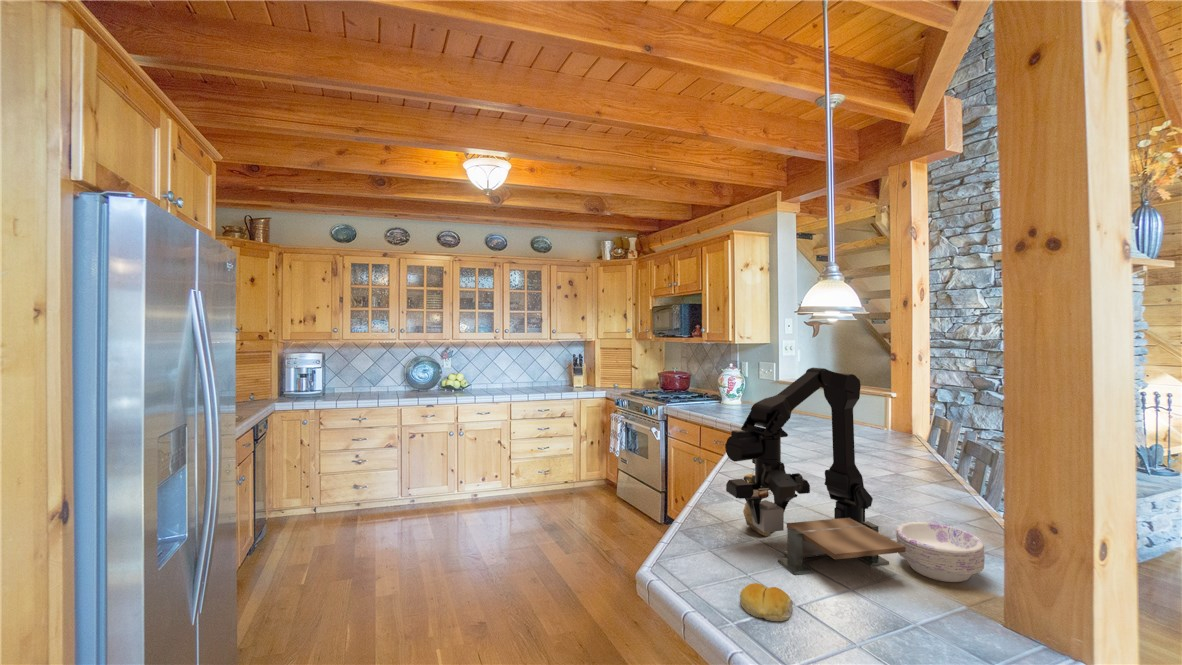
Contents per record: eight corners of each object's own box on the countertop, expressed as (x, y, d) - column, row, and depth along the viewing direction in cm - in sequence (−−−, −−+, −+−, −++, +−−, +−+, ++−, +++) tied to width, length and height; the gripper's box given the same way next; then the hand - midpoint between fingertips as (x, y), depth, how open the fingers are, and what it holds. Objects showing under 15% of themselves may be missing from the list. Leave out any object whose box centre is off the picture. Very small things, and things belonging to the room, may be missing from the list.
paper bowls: (883, 568, 107) (883, 531, 107) (913, 550, 116) (913, 515, 116) (968, 599, 95) (969, 557, 95) (995, 575, 104) (995, 537, 104)
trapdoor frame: (861, 548, 117) (861, 514, 117) (889, 564, 109) (889, 528, 109) (771, 557, 113) (771, 522, 112) (793, 575, 104) (794, 537, 104)
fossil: (741, 511, 125) (752, 492, 133) (730, 521, 127) (742, 501, 135) (770, 540, 122) (780, 518, 130) (758, 549, 124) (769, 527, 132)
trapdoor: (849, 540, 116) (849, 517, 116) (905, 573, 100) (905, 546, 100) (786, 547, 113) (786, 522, 113) (834, 582, 97) (834, 553, 97)
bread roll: (746, 592, 98) (746, 572, 98) (795, 606, 93) (795, 584, 93) (733, 613, 91) (733, 590, 91) (785, 629, 86) (785, 605, 86)
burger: (721, 489, 161) (721, 466, 161) (753, 486, 164) (753, 463, 164) (743, 502, 149) (743, 477, 149) (777, 498, 153) (777, 473, 153)
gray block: (771, 522, 122) (771, 499, 122) (783, 530, 117) (783, 506, 117) (752, 524, 121) (752, 500, 120) (764, 532, 116) (763, 507, 116)
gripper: (748, 468, 109) (749, 540, 109) (825, 463, 112) (825, 532, 113) (725, 455, 120) (725, 521, 120) (795, 451, 123) (795, 514, 123)
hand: (767, 522), depth 119 cm, fingers closed on gray block, 5 cm apart
